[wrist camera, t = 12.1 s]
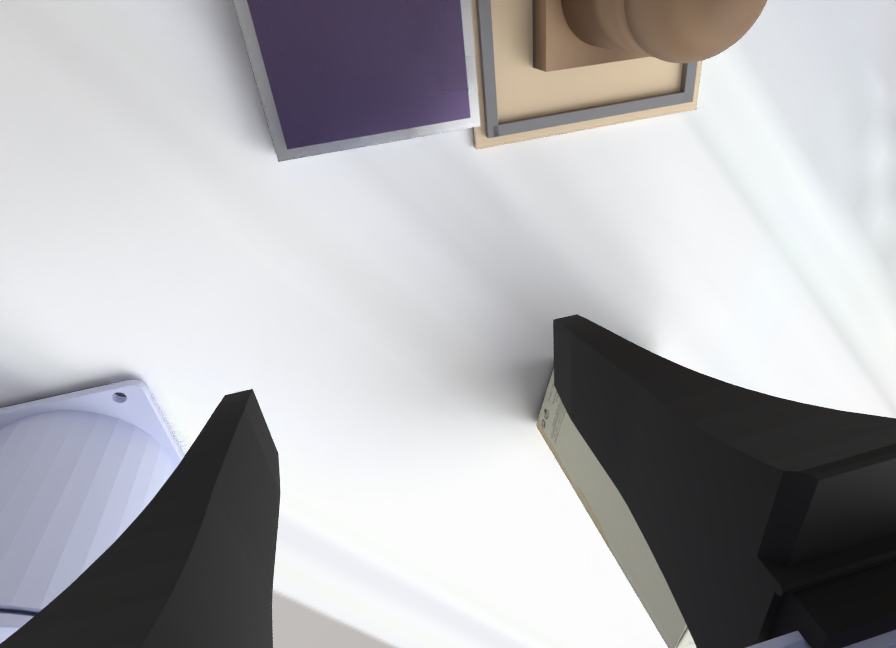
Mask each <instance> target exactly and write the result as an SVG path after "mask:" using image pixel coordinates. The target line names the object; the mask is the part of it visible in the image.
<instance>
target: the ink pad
mask: <svg viewBox="0 0 896 648" xmlns="http://www.w3.org/2000/svg"><path fill="white" fill-rule="evenodd" d="M233 2H234V6H235V9H236V13H237V16H238V20H239V23H240V27H241V30H242V34H243V38H244V41H245V45H246V48H247V52H248V55H249V59H250V62H251V66H252V69H253V73H254V77H255V80H256V84H257V87H258V91H259V94H260V98H261V101H262V105H263V108H264V112H265V116H266V119H267V123H268V126H269V130H270V133H271V137H272V140H273V144H274V148H275V151H276V155H277V158H278V162H280V161H285V160H291V159H297V158H302V157H308V156H314V155H319V154H325V153H331V152H336V151H342V150H348V149H353V148H359V147H365V146H370V145H376V144H382V143H387V142H393V141H399V140H404V139H410V138H416V137H421V136H427V135H433V134H438V133H444V132H450V131H455V130H461V129H467V128H473V127H478V126H480V115H479V102H478V89H477V76H476V64H475V51H474V38H473V26H472V13H471V0H233Z"/></svg>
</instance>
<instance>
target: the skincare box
mask: <svg viewBox="0 0 896 648" xmlns="http://www.w3.org/2000/svg"><path fill="white" fill-rule="evenodd" d="M537 428H538V430H539V431H540V433H541V435H542V436H543V438H544V440H545V441H546V443H547V445H548V446H549V448H550V450H551V451H552V453H553V455H554V457H555V458H556V460H557V462H558V463H559V465H560V467H561V468H562V470H563V472H564V473H565V475H566V477H567V478H568V480H569V482H570V483H571V485H572V487H573V489H574V490H575V492H576V494H577V495H578V497H579V499H580V500H581V502H582V504H583V505H584V507H585V509H586V511H587V512H588V514H589V516H590V517H591V519H592V521H593V522H594V524H595V526H596V527H597V529H598V531H599V532H600V534H601V536H602V537H603V539H604V541H605V542H606V544H607V546H608V548H609V549H610V551H611V552H612V554H613V556H614V557H615V559H616V561H617V562H618V564H619V566H620V567H621V569H622V571H623V573H624V574H625V576H626V578H627V579H628V581H629V583H630V584H631V586H632V588H633V589H634V591H635V593H636V594H637V596H638V598H639V599H640V601H641V603H642V604H643V606H644V608H645V609H646V611H647V613H648V614H649V616H650V618H651V619H652V621H653V623H654V624H655V626H656V628H657V630H658V631H659V633H660V635H661V636H662V638H663V639H664V641H665V643H666V644H667V646H668V648H696V645H695V643H694V641H693V638H692V636H691V634H690V632H689V629H688V627H687V625H686V623H685V620H684V618H683V616H682V614H681V612H680V610H679V608H678V606H677V603H676V601H675V599H674V597H673V595H672V593H671V591H670V589H669V586H668V584H667V582H666V580H665V578H664V576H663V574H662V572H661V570H660V568H659V566H658V564H657V562H656V560H655V558H654V556H653V554H652V552H651V550H650V548H649V546H648V544H647V542H646V540H645V538H644V536H643V534H642V532H641V531H640V529H639V527H638V525H637V523H636V521H635V519H634V517H633V515H632V514H631V512H630V510H629V508H628V506H627V504H626V503H625V501H624V499H623V498H622V496H621V494H620V493H619V491H618V489H617V488H616V486H615V485H614V483H613V482H612V481H611V479H610V478H609V476H608V475H607V473H606V472H605V470H604V469H603V467H602V466H601V464H600V463H599V461H598V460H597V458H596V457H595V455H594V454H593V452H592V451H591V449H590V448H589V446H588V445H587V443H586V442H585V440H584V439H583V437H582V436H581V434H580V433H579V431H578V430H577V428H576V427H575V425H574V424H573V422H572V421H571V419H570V417H569V415H568V413H567V411H566V409H565V407H564V405H563V403H562V401H561V399H560V397H559V395H558V393H557V391H556V388H555V386H554V369H553V372H552V375H551V378H550V381H549V384H548V387H547V391H546V394H545V397H544V400H543V404H542V407H541V410H540V414H539V418H538V422H537Z"/></svg>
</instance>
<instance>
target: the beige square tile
mask: <svg viewBox="0 0 896 648" xmlns="http://www.w3.org/2000/svg"><path fill="white" fill-rule="evenodd" d="M471 13H472V26H473V38H474V51H475V64H476V76H477V89H478V102H479V115H480V126H478V127H473V129H474V140H475V148H476V149H482V148H487V147H493V146H498V145H504V144H509V143H515V142H520V141H525V140H531V139H536V138H542V137H547V136H553V135H558V134H564V133H569V132H575V131H580V130H586V129H591V128H597V127H602V126H608V125H613V124H619V123H624V122H630V121H635V120H641V119H646V118H652V117H657V116H663V115H668V114H674V113H679V112H685V111H690V110H696V106H697V98H698V90H699V83H700V75H701V67H702V61H698V62H693V63H670V62H666V61H663V60H660V59H657V58H655V57H645V58H638V59H631V60H624V61H617V62H611V63H604V64H597V65H590V66H583V67H576V68H570V69H563V70H556V71H549V72H545V71H541V70H538V69H535V68H533V17H532V0H471Z"/></svg>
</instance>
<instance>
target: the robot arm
mask: <svg viewBox="0 0 896 648" xmlns="http://www.w3.org/2000/svg"><path fill="white" fill-rule="evenodd" d="M553 330H554V386H555V388H556V391H557V393H558V395H559V397H560V399H561V401H562V403H563V405H564V407H565V409H566V411H567V413H568V415H569V417H570V419H571V421H572V422H573V424H574V425H575V427H576V428H577V430H578V431H579V433H580V434H581V436H582V437H583V439H584V440H585V442H586V443H587V445H588V446H589V448H590V449H591V451H592V452H593V454H594V455H595V457H596V458H597V460H598V461H599V463H600V464H601V466H602V467H603V469H604V470H605V472H606V473H607V475H608V476H609V478H610V479H611V481H612V482H613V483H614V485H615V486H616V488H617V489H618V491H619V493H620V494H621V496H622V498H623V499H624V501H625V503H626V504H627V506H628V508H629V510H630V512H631V514H632V515H633V517H634V519H635V521H636V523H637V525H638V527H639V529H640V531H641V532H642V534H643V536H644V538H645V540H646V542H647V544H648V546H649V548H650V550H651V552H652V554H653V556H654V558H655V560H656V562H657V564H658V566H659V568H660V570H661V572H662V574H663V576H664V578H665V580H666V582H667V584H668V586H669V589H670V591H671V593H672V595H673V597H674V599H675V601H676V603H677V606H678V608H679V610H680V612H681V614H682V616H683V618H684V620H685V623H686V625H687V627H688V629H689V632H690V634H691V636H692V638H693V641H694V643H695V645H696V648H896V419H895V418H888V417H881V416H874V415H867V414H860V413H853V412H846V411H840V410H834V409H829V408H824V407H819V406H814V405H809V404H804V403H799V402H795V401H791V400H787V399H782V398H778V397H774V396H771V395H767V394H763V393H760V392H756V391H752V390H749V389H745V388H742V387H739V386H736V385H732V384H729V383H726V382H724V381H721V380H718V379H715V378H712V377H709V376H707V375H704V374H701V373H698V372H696V371H693V370H691V369H688V368H686V367H683V366H681V365H679V364H677V363H674V362H672V361H670V360H667V359H665V358H663V357H661V356H658V355H656V354H654V353H652V352H650V351H648V350H646V349H644V348H642V347H640V346H638V345H636V344H634V343H632V342H630V341H628V340H626V339H624V338H622V337H620V336H618V335H616V334H614V333H613V332H611V331H609V330H607V329H605V328H603V327H601V326H599V325H597V324H595V323H594V322H592V321H590V320H588V319H586V318H584V317H581V316H579V315H572V316H568V317H564V318H559V319H555V320H553ZM116 392H121V393H123V394H125V395H126V396H125V397H120V396H117V395H116V394H115V393H116ZM279 504H280V475H279V459H278V452H277V449H276V447H275V444H274V442H273V439H272V437H271V434H270V432H269V429H268V427H267V424H266V422H265V419H264V417H263V414H262V412H261V409H260V406H259V404H258V401H257V399H256V396H255V394H254V391H253V389H251V390H246V391H242V392H237V393H233V394H229V395H225V396H224V398H223V399H222V401H221V402H220V404H219V405H218V406H217V408H216V409H215V411H214V413H213V414H212V416H211V417H210V419H209V420H208V422H207V423H206V425H205V426H204V428H203V429H202V431H201V432H200V434H199V436H198V437H197V439H196V440H195V442H194V443H193V444H192V446H191V447H190V449H189V450H188V452H187V453H186V455H185V456H184V454H183V453H182V451H181V449H180V447H179V445H178V443H177V441H176V439H175V437H174V436H173V434H172V432H171V430H170V428H169V426H168V424H167V422H166V420H165V419H164V417H163V415H162V413H161V411H160V409H159V407H158V405H157V403H156V402H155V400H154V398H153V396H152V394H151V392H150V390H149V388H148V387H147V385H146V384H145V383H144V382H142V381H140V380H135V379H133V380H126V381H121V382H117V383H112V384H108V385H103V386H99V387H94V388H90V389H85V390H81V391H76V392H72V393H67V394H63V395H58V396H54V397H49V398H45V399H40V400H36V401H31V402H27V403H22V404H17V405H13V406H8V407H4V408H0V648H273V640H272V639H273V637H272V590H273V575H274V564H275V552H276V540H277V529H278V517H279Z"/></svg>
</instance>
